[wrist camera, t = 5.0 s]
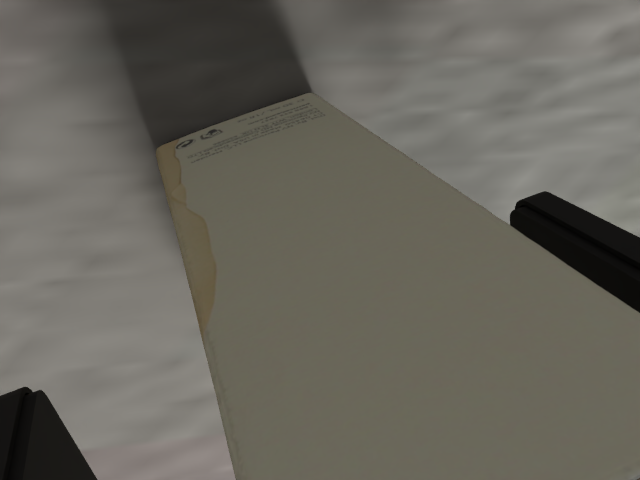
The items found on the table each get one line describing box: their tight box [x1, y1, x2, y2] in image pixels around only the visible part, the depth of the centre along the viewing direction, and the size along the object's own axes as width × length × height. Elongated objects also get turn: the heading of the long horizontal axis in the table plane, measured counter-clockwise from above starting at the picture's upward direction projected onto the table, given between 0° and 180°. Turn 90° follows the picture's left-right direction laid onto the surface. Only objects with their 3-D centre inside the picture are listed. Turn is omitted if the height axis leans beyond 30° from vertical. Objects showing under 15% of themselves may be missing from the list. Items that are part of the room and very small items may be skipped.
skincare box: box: [156, 93, 640, 480], centre depth 11 cm, size 6×4×12 cm
